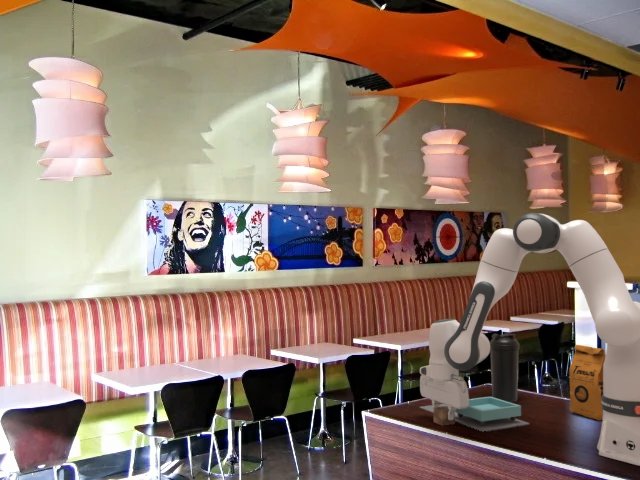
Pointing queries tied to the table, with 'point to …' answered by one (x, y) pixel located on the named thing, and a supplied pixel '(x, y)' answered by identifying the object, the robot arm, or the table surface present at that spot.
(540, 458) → the table surface
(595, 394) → the coffee package
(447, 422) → the walnut block
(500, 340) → the water bottle
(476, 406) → the cyan square tray
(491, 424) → the grey rectangular mat
